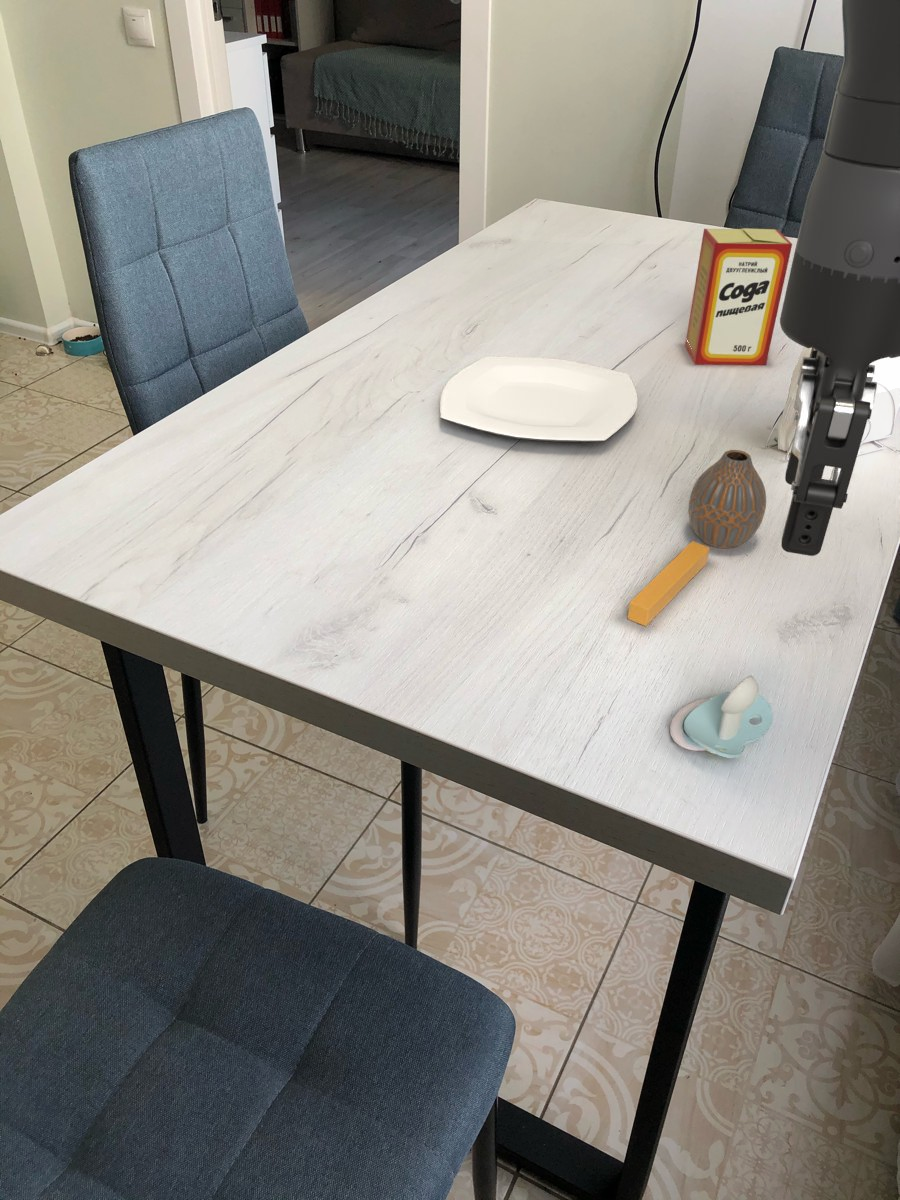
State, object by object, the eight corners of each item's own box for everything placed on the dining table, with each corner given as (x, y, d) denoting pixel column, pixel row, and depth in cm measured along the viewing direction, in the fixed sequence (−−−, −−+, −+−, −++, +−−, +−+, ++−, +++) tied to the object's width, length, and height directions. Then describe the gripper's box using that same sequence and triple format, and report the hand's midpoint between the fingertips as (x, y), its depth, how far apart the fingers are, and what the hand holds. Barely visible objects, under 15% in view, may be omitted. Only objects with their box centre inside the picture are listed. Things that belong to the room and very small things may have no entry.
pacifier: (650, 738, 68) (720, 782, 64) (660, 671, 65) (735, 714, 61) (709, 693, 72) (778, 732, 69) (721, 628, 69) (795, 665, 65)
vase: (763, 528, 91) (782, 447, 86) (749, 564, 86) (769, 480, 81) (692, 512, 94) (707, 432, 89) (675, 546, 89) (690, 463, 83)
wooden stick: (688, 556, 87) (691, 540, 86) (706, 563, 86) (710, 547, 85) (626, 618, 79) (629, 601, 78) (645, 626, 79) (648, 609, 78)
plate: (619, 467, 101) (621, 450, 100) (416, 437, 107) (416, 421, 105) (647, 384, 119) (649, 369, 118) (472, 362, 124) (472, 348, 123)
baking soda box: (694, 364, 125) (715, 239, 115) (684, 346, 130) (704, 225, 120) (765, 365, 125) (792, 240, 115) (753, 346, 130) (778, 226, 120)
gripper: (965, 300, 43) (868, 589, 52) (935, 221, 54) (859, 472, 63) (793, 282, 44) (730, 565, 54) (798, 210, 55) (745, 456, 65)
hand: (800, 515), depth 59 cm, fingers open, 8 cm apart
